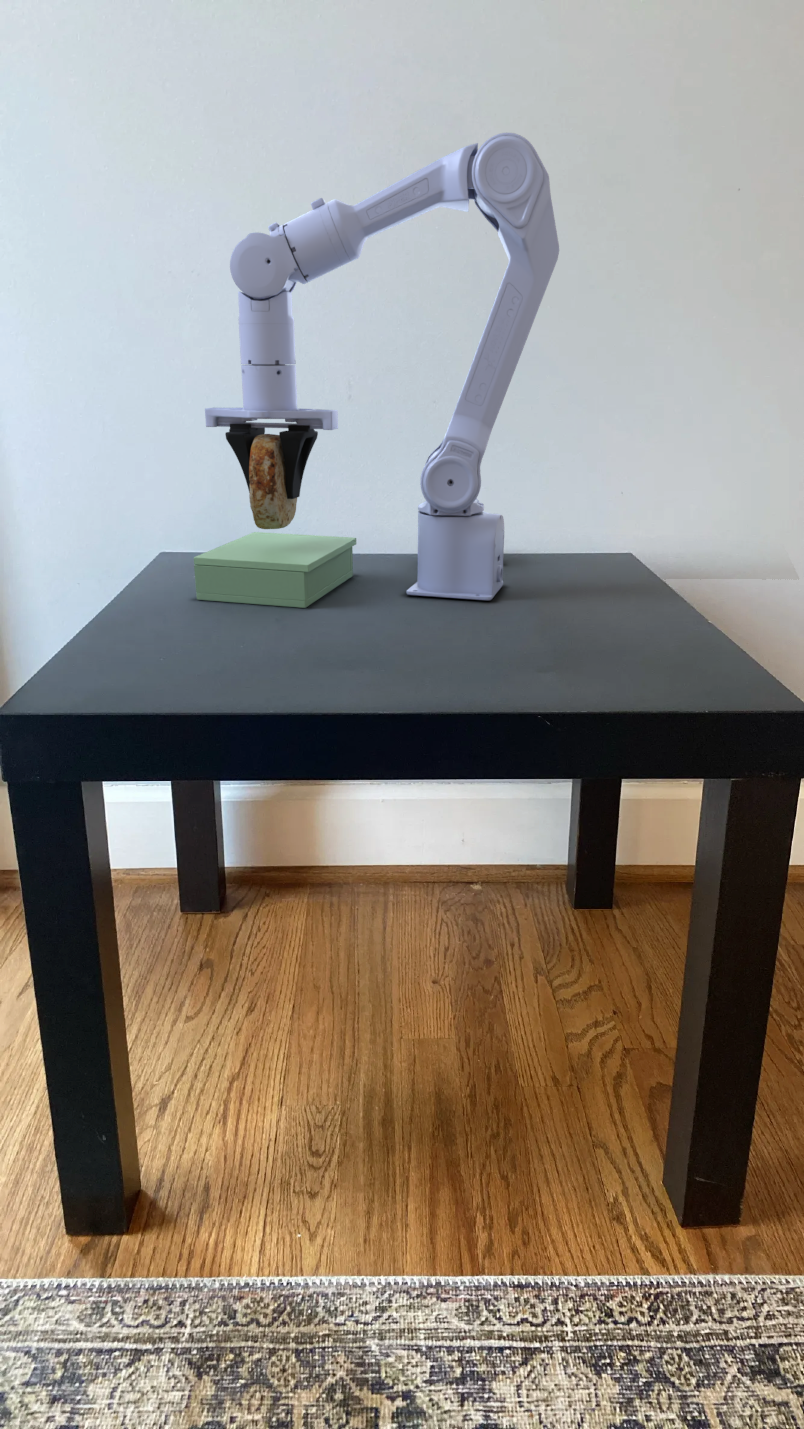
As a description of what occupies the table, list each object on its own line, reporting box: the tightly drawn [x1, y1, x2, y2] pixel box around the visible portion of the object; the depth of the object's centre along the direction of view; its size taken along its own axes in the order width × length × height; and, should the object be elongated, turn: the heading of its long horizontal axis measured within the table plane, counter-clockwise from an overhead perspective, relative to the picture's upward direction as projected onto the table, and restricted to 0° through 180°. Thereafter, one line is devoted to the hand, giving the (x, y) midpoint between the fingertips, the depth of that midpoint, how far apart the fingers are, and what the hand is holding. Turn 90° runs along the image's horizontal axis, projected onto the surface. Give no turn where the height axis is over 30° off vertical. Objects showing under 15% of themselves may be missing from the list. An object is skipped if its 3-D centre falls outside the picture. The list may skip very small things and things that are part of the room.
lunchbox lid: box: [193, 531, 357, 572], centre depth 106 cm, size 13×16×1 cm
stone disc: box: [248, 433, 298, 530], centre depth 103 cm, size 10×4×10 cm, turn 172°
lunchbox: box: [193, 546, 354, 609], centre depth 106 cm, size 13×16×4 cm
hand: (274, 496), depth 103 cm, fingers closed on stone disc, 4 cm apart
